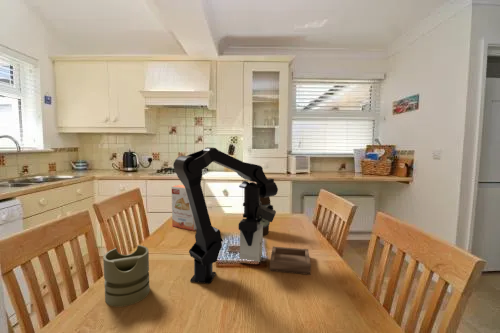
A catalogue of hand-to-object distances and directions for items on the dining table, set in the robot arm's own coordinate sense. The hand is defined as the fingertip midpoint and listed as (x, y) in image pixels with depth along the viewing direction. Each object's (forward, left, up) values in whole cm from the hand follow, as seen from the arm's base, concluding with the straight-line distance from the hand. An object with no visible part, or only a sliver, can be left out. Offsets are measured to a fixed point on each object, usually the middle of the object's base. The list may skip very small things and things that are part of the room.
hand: (251, 241), depth 94 cm
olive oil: (+29, +1, -7) cm, 30 cm away
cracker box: (+30, +38, -7) cm, 49 cm away
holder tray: (0, -14, -7) cm, 16 cm away
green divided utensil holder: (-27, +31, -7) cm, 42 cm away
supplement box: (0, 0, -7) cm, 7 cm away
